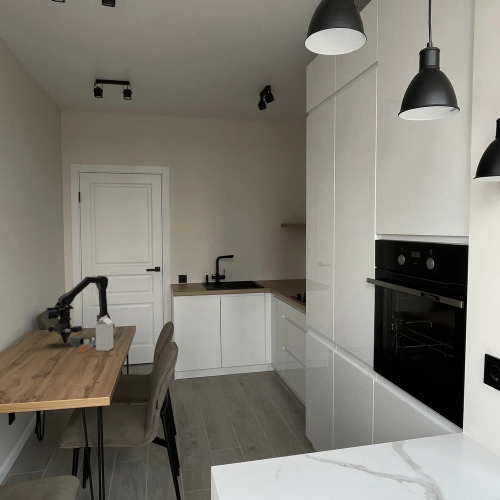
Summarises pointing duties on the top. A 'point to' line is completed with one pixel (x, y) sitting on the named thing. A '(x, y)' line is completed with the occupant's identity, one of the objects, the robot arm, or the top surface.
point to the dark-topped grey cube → (77, 341)
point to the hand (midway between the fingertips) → (65, 343)
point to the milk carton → (104, 334)
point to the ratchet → (87, 344)
